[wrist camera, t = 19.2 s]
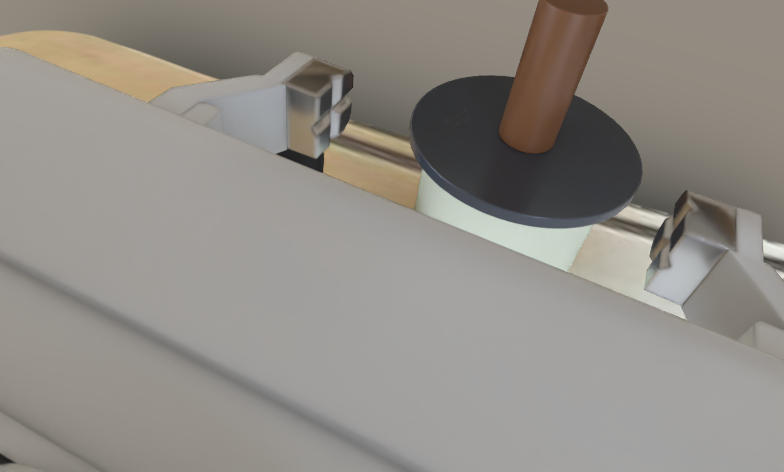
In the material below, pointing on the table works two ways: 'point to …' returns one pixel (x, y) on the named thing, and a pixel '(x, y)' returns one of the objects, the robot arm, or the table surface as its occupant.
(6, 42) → the table surface
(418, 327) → the robot arm
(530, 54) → the lid
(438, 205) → the can
